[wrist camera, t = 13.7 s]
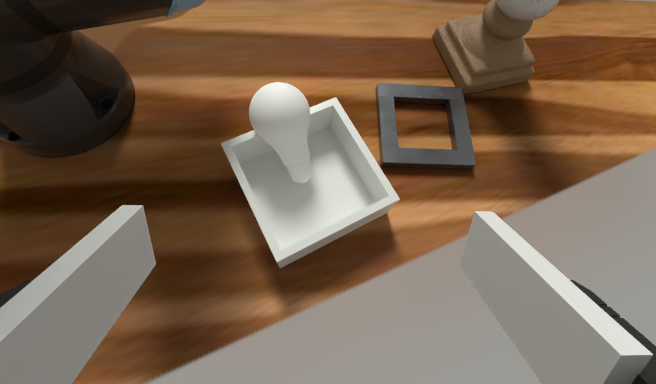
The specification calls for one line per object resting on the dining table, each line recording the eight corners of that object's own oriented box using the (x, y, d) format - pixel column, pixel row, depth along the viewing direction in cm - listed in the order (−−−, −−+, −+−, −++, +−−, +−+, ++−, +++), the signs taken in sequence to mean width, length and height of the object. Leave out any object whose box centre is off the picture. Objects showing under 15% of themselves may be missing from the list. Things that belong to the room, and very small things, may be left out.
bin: (231, 164, 37) (220, 143, 32) (331, 121, 40) (335, 97, 35) (280, 268, 33) (276, 262, 28) (387, 212, 36) (399, 199, 32)
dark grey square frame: (380, 166, 38) (383, 162, 37) (375, 89, 42) (377, 83, 41) (471, 169, 39) (476, 165, 38) (457, 93, 43) (461, 87, 42)
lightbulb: (339, 178, 33) (307, 72, 29) (287, 202, 32) (244, 95, 27) (319, 165, 39) (288, 74, 34) (273, 185, 37) (235, 93, 32)
